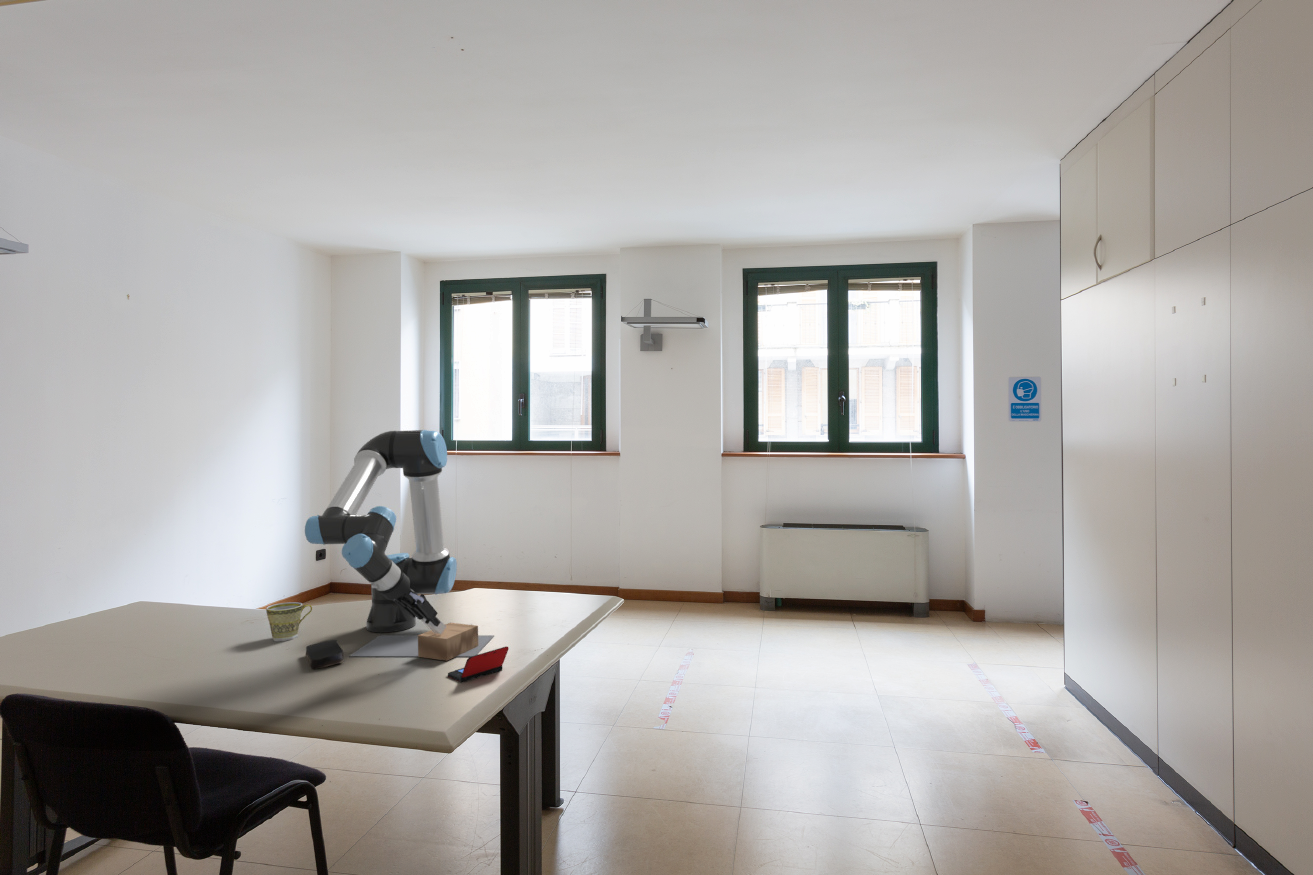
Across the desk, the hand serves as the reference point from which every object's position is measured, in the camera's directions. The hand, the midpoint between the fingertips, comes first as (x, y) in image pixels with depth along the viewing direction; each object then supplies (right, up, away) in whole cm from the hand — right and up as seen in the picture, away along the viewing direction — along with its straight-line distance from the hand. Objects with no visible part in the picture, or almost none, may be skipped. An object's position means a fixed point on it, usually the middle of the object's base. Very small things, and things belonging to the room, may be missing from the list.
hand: (440, 629), depth 203 cm
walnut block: (-1, -4, -3) cm, 5 cm away
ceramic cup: (-53, -8, +21) cm, 58 cm away
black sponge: (-32, -9, -2) cm, 33 cm away
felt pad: (-8, -7, +10) cm, 14 cm away
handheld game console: (+15, -8, -15) cm, 23 cm away
